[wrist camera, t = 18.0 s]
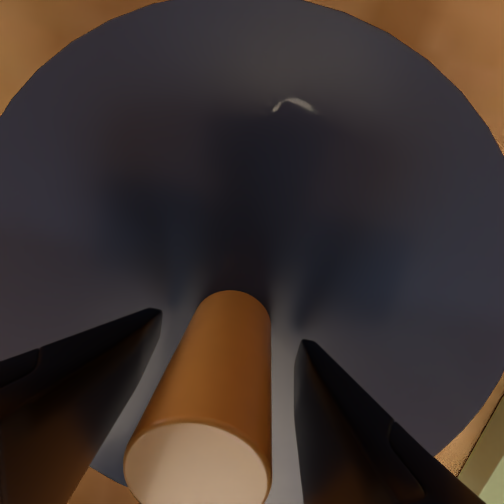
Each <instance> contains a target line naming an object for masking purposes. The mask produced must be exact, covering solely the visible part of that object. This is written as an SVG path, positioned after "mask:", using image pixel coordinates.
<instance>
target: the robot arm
mask: <svg viewBox="0 0 504 504" xmlns="http://www.w3.org/2000/svg"><path fill="white" fill-rule="evenodd" d="M162 317H163V312H162V310H160V309H156V308H151V307H149V308H146V309H143V310H141V311H138V312H135V313H132V314H130V315H127V316H124V317H121V318H119V319H116V320H113V321H110V322H108V323H105V324H102V325H99V326H97V327H94V328H91V329H88V330H86V331H83V332H80V333H77V334H75V335H72V336H69V337H66V338H64V339H61V340H58V341H55V342H53V343H50V344H47V345H44V346H42V347H40V349H39V348H36V349H33V350H31V351H28V352H25V353H22V354H20V355H17V356H14V357H11V358H8V359H5V360H2V361H0V504H67V502H68V501H69V499H70V497H71V496H72V494H73V492H74V491H75V489H76V487H77V486H78V484H79V482H80V481H81V479H82V477H83V476H84V474H85V472H86V471H87V469H88V467H89V466H90V464H91V462H92V461H93V459H94V457H95V456H96V454H97V452H98V451H99V449H100V448H101V446H102V444H103V443H104V441H105V439H106V438H107V436H108V434H109V433H110V431H111V429H112V428H113V426H114V424H115V423H116V421H117V419H118V418H119V416H120V414H121V413H122V411H123V409H124V408H125V406H126V404H127V403H128V401H129V399H130V398H131V396H132V395H133V393H134V391H135V389H136V388H137V386H138V384H139V382H140V380H141V378H142V376H143V374H144V371H145V369H146V367H147V365H148V363H149V360H150V358H151V356H152V354H153V352H154V350H155V347H156V345H157V343H158V341H159V338H160V334H161V326H162ZM294 423H295V432H296V441H297V450H298V459H299V467H300V476H301V485H302V494H303V503H304V504H486V503H485V502H484V501H483V500H482V499H481V498H480V497H478V496H477V495H476V494H475V493H474V492H473V491H472V490H470V489H469V488H468V487H467V486H466V485H465V484H464V483H462V482H461V481H460V480H459V479H458V478H457V477H456V476H454V475H453V474H452V473H451V472H450V471H449V470H448V469H447V468H445V467H444V466H443V465H442V464H441V463H440V462H439V461H438V460H436V459H435V458H434V457H433V456H432V455H431V454H430V453H429V452H428V451H427V450H425V449H424V448H423V447H422V446H421V445H420V444H419V443H418V442H417V441H416V440H415V439H414V438H413V437H412V436H411V435H410V434H409V433H408V432H407V431H406V430H405V429H404V428H403V427H402V426H401V425H400V424H399V423H398V422H396V421H395V422H394V419H393V418H392V417H391V416H390V415H389V414H388V413H387V412H386V411H385V410H384V409H383V408H382V407H381V406H380V405H379V404H378V403H377V402H376V401H375V400H374V399H373V398H372V397H371V396H370V395H369V394H368V393H367V392H366V391H365V390H364V389H363V388H362V387H361V386H360V385H359V384H358V383H357V382H356V381H355V380H354V379H353V378H352V377H351V376H350V375H349V374H348V373H347V372H346V371H345V370H344V369H343V368H342V367H341V366H340V365H339V364H338V363H337V362H336V361H335V360H334V359H333V358H332V357H331V356H330V355H329V354H328V353H326V352H325V351H324V350H323V349H322V348H321V347H320V346H319V345H318V344H317V343H316V342H315V341H312V340H307V339H302V340H301V342H300V345H299V348H298V352H297V355H296V359H295V363H294Z"/></svg>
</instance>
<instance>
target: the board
mask: <svg viewBox="0 0 504 504" xmlns="http://www.w3.org/2000/svg"><path fill="white" fill-rule="evenodd" d="M457 478H458V479H459V480H460V481H461V482H462V483H464V484H465V485H466V486H467V487H468V488H469V489H470V490H472V491H473V492H474V493H475V494H476V495H477V496H478V497H480V498H481V499H482V500H483V501H484V502H485V503H486V504H504V396H503V397H502V399H501V401H500V403H499V404H498V406H497V408H496V410H495V412H494V413H493V415H492V417H491V419H490V420H489V422H488V424H487V426H486V428H485V429H484V431H483V433H482V435H481V436H480V438H479V440H478V442H477V444H476V445H475V447H474V449H473V451H472V452H471V454H470V456H469V458H468V460H467V461H466V463H465V465H464V467H463V468H462V470H461V472H460V474H459V475H458V477H457Z"/></svg>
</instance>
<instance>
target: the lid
mask: <svg viewBox="0 0 504 504" xmlns="http://www.w3.org/2000/svg"><path fill="white" fill-rule="evenodd" d="M149 307H151V308H156V309H160V310H162V312H163V317H162V326H161V334H160V338H159V341H158V343H157V345H156V347H155V350H154V352H153V354H152V356H151V358H150V360H149V363H148V365H147V367H146V369H145V371H144V374H143V376H142V378H141V380H140V382H139V384H138V386H137V388H136V389H135V391H134V393H133V395H132V396H131V398H130V399H129V401H128V403H127V404H126V406H125V408H124V409H123V411H122V413H121V414H120V416H119V418H118V419H117V421H116V423H115V424H114V426H113V428H112V429H111V431H110V433H109V434H108V436H107V438H106V439H105V441H104V443H103V444H102V446H101V448H100V449H99V451H98V452H97V454H96V456H95V457H94V459H93V461H92V462H91V464H90V467H91V468H93V469H95V470H96V471H98V472H100V473H101V474H103V475H105V476H107V477H108V478H110V479H112V480H114V481H115V482H117V483H120V484H122V485H124V486H126V487H128V488H129V489H130V491H131V493H132V494H133V496H134V497H135V498H136V499H137V500H138V501H139V503H140V504H304V503H303V494H302V485H301V476H300V467H299V459H298V450H297V441H296V432H295V423H294V363H295V359H296V355H297V352H298V348H299V345H300V342H301V340H302V339H307V340H312V341H315V342H316V343H317V344H318V345H319V346H320V347H321V348H322V349H323V350H324V351H325V352H326V353H328V354H329V355H330V356H331V357H332V358H333V359H334V360H335V361H336V362H337V363H338V364H339V365H340V366H341V367H342V368H343V369H344V370H345V371H346V372H347V373H348V374H349V375H350V376H351V377H352V378H353V379H354V380H355V381H356V382H357V383H358V384H359V385H360V386H361V387H362V388H363V389H364V390H365V391H366V392H367V393H368V394H369V395H370V396H371V397H372V398H373V399H374V400H375V401H376V402H377V403H378V404H379V405H380V406H381V407H382V408H383V409H384V410H385V411H386V412H387V413H388V414H389V415H390V416H391V417H392V418H393V419H394V422H395V421H396V422H398V423H399V424H400V425H401V426H402V427H403V428H404V429H405V430H406V431H407V432H408V433H409V434H410V435H411V436H412V437H413V438H414V439H415V440H416V441H417V442H418V443H419V444H420V445H421V446H422V447H423V448H424V449H425V450H427V451H428V452H429V453H430V454H431V455H432V456H433V457H434V456H435V455H436V454H438V453H439V452H440V451H441V450H443V449H444V448H445V447H446V446H447V445H448V444H449V443H450V442H451V441H452V440H453V439H454V438H455V437H456V436H457V435H459V434H460V433H461V432H462V431H463V430H464V428H465V427H466V426H467V425H468V424H469V422H470V421H471V420H472V419H473V418H474V416H475V415H476V414H477V413H478V412H479V410H480V409H481V408H482V407H483V405H484V404H485V402H486V401H487V399H488V397H489V396H490V394H491V393H492V391H493V389H494V388H495V386H496V385H497V383H498V382H499V380H500V378H501V376H502V374H503V372H504V156H503V154H502V152H501V150H500V148H499V146H498V144H497V142H496V141H495V139H494V137H493V135H492V133H491V131H490V129H489V127H488V126H487V125H486V123H485V122H484V121H483V119H482V118H481V117H480V116H479V114H478V113H477V112H476V110H475V109H474V108H473V106H472V105H471V104H470V102H469V101H468V100H467V98H466V97H465V96H464V94H463V93H462V92H461V91H460V90H459V89H458V88H457V87H456V86H455V85H454V84H453V83H452V82H451V81H450V80H449V79H447V78H446V77H445V76H444V75H443V74H442V73H441V72H440V71H439V70H438V69H437V68H436V67H435V66H434V65H433V64H432V63H431V62H430V61H429V60H427V59H426V58H424V57H423V56H421V55H420V54H419V53H417V52H416V51H414V50H413V49H411V48H410V47H408V46H407V45H405V44H404V43H402V42H401V41H400V40H398V39H397V38H395V37H394V36H392V35H391V34H389V33H388V32H385V31H383V30H381V29H379V28H377V27H375V26H373V25H371V24H368V23H366V22H364V21H362V20H360V19H358V18H356V17H354V16H351V15H349V14H347V13H345V12H342V11H339V10H335V9H332V8H328V7H325V6H321V5H318V4H314V3H311V2H307V1H304V0H169V1H164V2H159V3H154V4H151V5H148V6H145V7H143V8H140V9H137V10H135V11H132V12H129V13H127V14H124V15H121V16H119V17H116V18H113V19H111V20H109V21H107V22H105V23H104V24H102V25H100V26H98V27H97V28H95V29H93V30H91V31H90V32H88V33H86V34H84V35H83V36H81V37H79V38H77V39H76V40H74V41H72V42H71V43H70V44H68V45H67V46H66V47H65V48H63V49H62V50H61V51H60V52H59V53H57V54H56V55H55V56H54V57H52V58H51V59H50V60H49V61H47V62H46V63H45V64H44V65H43V66H41V67H40V68H39V69H38V70H37V71H36V72H35V73H34V74H33V76H32V77H31V78H30V79H29V80H28V81H27V82H26V84H25V85H24V86H23V87H22V88H21V89H20V90H19V91H18V93H17V94H16V95H15V96H14V97H13V98H12V99H11V101H10V102H9V104H8V106H7V107H6V109H5V110H4V112H3V114H2V115H1V117H0V361H2V360H5V359H8V358H11V357H14V356H17V355H20V354H22V353H25V352H28V351H31V350H33V349H36V348H39V349H40V347H42V346H44V345H47V344H50V343H53V342H55V341H58V340H61V339H64V338H66V337H69V336H72V335H75V334H77V333H80V332H83V331H86V330H88V329H91V328H94V327H97V326H99V325H102V324H105V323H108V322H110V321H113V320H116V319H119V318H121V317H124V316H127V315H130V314H132V313H135V312H138V311H141V310H143V309H146V308H149Z"/></svg>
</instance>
